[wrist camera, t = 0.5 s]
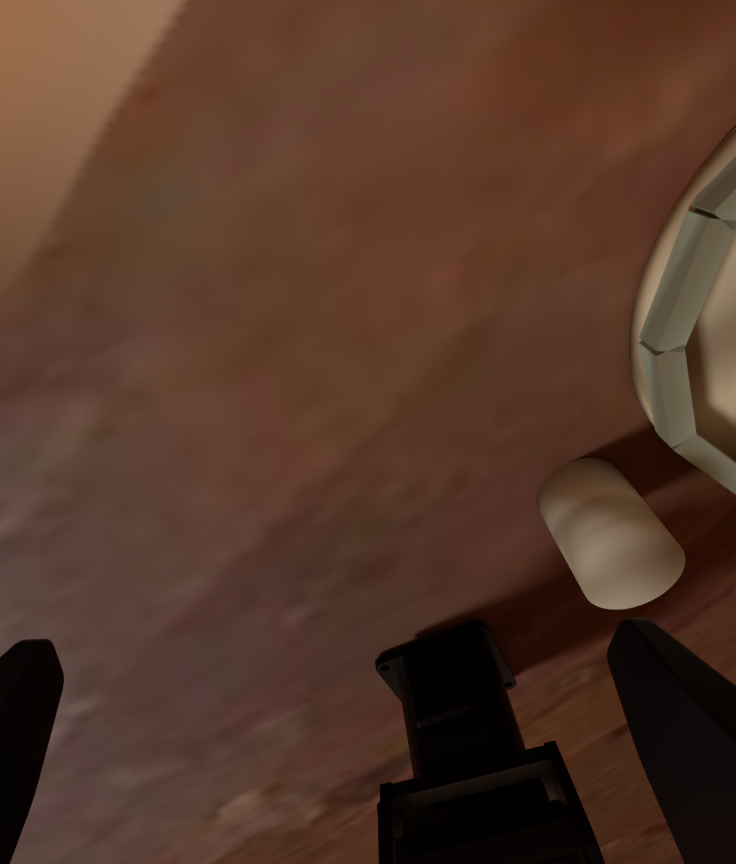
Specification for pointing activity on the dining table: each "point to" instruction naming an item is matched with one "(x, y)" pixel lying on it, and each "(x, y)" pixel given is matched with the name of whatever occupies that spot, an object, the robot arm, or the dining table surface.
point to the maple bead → (609, 535)
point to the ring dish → (692, 322)
